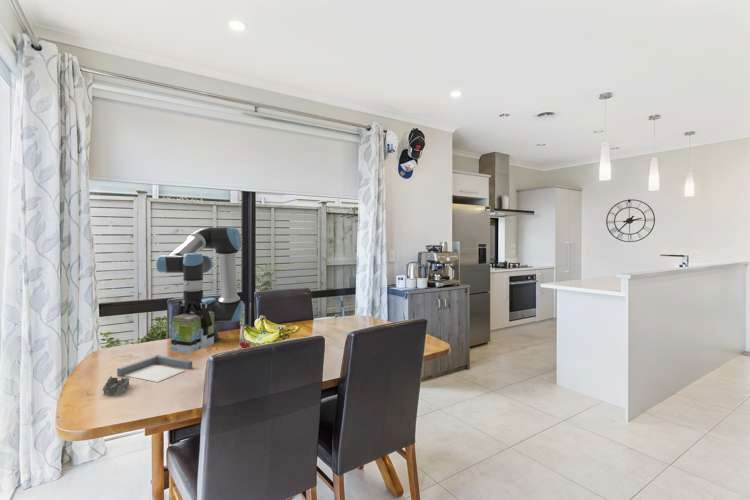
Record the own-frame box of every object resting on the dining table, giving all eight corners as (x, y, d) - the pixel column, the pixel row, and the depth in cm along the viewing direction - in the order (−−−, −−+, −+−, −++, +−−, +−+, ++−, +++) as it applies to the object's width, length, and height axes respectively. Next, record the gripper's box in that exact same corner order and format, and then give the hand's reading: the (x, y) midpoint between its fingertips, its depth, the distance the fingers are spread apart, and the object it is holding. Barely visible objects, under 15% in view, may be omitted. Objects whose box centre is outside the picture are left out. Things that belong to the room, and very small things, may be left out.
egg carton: (110, 385, 150) (110, 375, 150) (132, 383, 153) (132, 373, 153) (100, 396, 140) (99, 386, 140) (123, 394, 143) (123, 384, 142)
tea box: (192, 354, 153) (191, 318, 152) (170, 352, 155) (170, 317, 154) (214, 343, 168) (214, 310, 167) (194, 341, 170) (194, 309, 169)
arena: (157, 361, 179) (157, 355, 178) (193, 367, 171) (193, 361, 171) (117, 375, 160) (117, 368, 160) (155, 383, 153) (155, 376, 153)
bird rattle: (236, 371, 174) (254, 363, 175) (226, 349, 173) (245, 341, 174) (240, 366, 180) (257, 359, 181) (230, 345, 180) (248, 337, 180)
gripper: (165, 289, 161) (165, 340, 162) (208, 293, 153) (208, 347, 154) (179, 286, 168) (179, 335, 169) (221, 290, 160) (221, 342, 161)
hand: (193, 341), depth 162 cm, fingers closed on tea box, 10 cm apart
